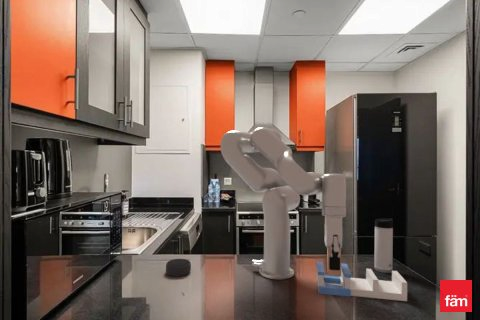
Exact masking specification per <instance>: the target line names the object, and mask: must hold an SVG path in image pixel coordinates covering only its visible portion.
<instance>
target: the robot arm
mask: <svg viewBox="0 0 480 320" xmlns="http://www.w3.org/2000/svg"><path fill="white" fill-rule="evenodd" d="M282 138H283V137H282V136H281V134H280V132H278V131H277V130H276V129H273V128H269V127H268V128H267V127H262V126H261V127H257V128H255V129H254V130H253V131H252V132H245V131H242V130H241V131H240V130H229V131H227V132H225V133H224V134H223V135H222V137H221V139H220V140H221V141H220V152H221V155H222V157H223V159H224V161H225V162H226V163H227V165H229V166H230V168H231V169H232V170H234V172H235V173H236V174H237V175H238V176H239V177H240V178H241V179H242V180H243V182H245V184H246V185H247V186H248V187H249V188H250V189H251V190H252V191H253V192H254V193H264V194H263V196H262V200H261V206H262V212H263V231H264V232H263V259H260V260H259V259H252V260H251V266H254V268H259V270H258V271H259V274H260V275H261V276H262V277H264V278H265V279H266V278H267V279H271V280H288V279H291V278H293V277H294V275H295V271H294V269H293V268H291V267H290V266H291V265H290V263H291V221H290V220H291V219H290V215H289V211H292V210H295V209H296V208H297V207H298V206H299V205H300V201H301V197H300V195H301V196H306V197H307V196H312V195H320V194H321V216H323V217H324V240H323V241H324V245H325V247H326V249H327V248H328V247H330V257H329V266H330V270H340V251H339V249H340V248H341V249H342V248H343V218H345V217H347V207H346V206H347V179H346V176H345V175H344V174H343V173H321V172H307V171H306V170H304V169H303V167H301V166H300V165H299V164H298V163H297V162H296V161H295V160H294V158H293V156H292V155H293V150H292V148H291V147H289V145H287V144H286V143H285V142H283V140H282ZM247 153H249V154H250V153H261V154H262V155H263V156H264V157H265V158H266V159H267V160H268V161H270V163H271V164H272V165H273V166H274V167H275V169H274V168H271V167H262V166H261V165H260V164H259V163H257V162H256V161H255V160H254V159H253V158H252V157H251V156H250V155H249V154H247ZM332 245H334V247H332ZM332 249H334V250H333V251H332Z"/></svg>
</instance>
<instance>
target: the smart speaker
mask: <svg viewBox="0 0 480 320" xmlns="http://www.w3.org/2000/svg"><path fill="white" fill-rule="evenodd" d="M191 271H192V264H191V261H190V260H189V259H185V258H175V259H174V258H173V259H170V260H168V261H167V262H166V264H165V273H166V274H167V275H168V276H171V277H183V276H186V275H188V274H190V273H191Z"/></svg>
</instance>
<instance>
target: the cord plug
mask: <svg viewBox="0 0 480 320" xmlns="http://www.w3.org/2000/svg"><path fill="white" fill-rule="evenodd" d="M332 247H334V245H332ZM326 249H327V251H326V253H327V255H326V256H327V257H326V258H327V259H326V266H327V267H326V272H327V276H339V277H341V263H342V248H340V249H339V251H340V270H330V266H329V257H330V247H328V248H327V247H326ZM333 250H334V249H332V251H333Z"/></svg>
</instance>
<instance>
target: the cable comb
mask: <svg viewBox="0 0 480 320" xmlns="http://www.w3.org/2000/svg"><path fill="white" fill-rule="evenodd" d="M316 283H317V291H318V294H323V295H329V296H330V295H331V296H332V295H333V296H342V297H351V296H352V297H361V298H369V299H380V300H381V299H383V300H390V301H400V302H401V301H402V302H408V282H407V281H406V280H405V278H404V277H403V276H402V275H401V274H400V273H399V272H398V270H392V272H391V280H383V279H382V280H381V279H378V277H377V276H376V275H375V272H373V270H372V268H366V269H365V278H360V277H352V273H351V270H350V268H349V267H348V263H343V262H341V276H338V275H328V274H325V267H324V264H323V261H318V260H317V261H316Z"/></svg>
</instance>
